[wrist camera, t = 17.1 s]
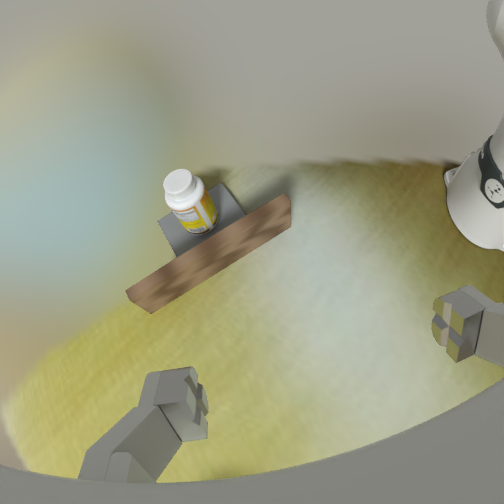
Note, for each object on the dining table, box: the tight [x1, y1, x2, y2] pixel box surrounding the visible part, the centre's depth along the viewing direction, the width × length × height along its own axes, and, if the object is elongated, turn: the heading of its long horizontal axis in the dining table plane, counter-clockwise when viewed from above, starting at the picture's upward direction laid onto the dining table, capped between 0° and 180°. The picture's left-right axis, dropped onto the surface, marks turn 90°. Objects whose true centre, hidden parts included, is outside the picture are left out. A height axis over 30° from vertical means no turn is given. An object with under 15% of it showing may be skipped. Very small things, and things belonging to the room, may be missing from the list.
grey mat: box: [158, 183, 246, 257], centre depth 48 cm, size 12×9×1 cm
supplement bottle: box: [163, 169, 218, 235], centre depth 43 cm, size 6×6×10 cm
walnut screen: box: [126, 193, 291, 314], centre depth 42 cm, size 24×2×7 cm, turn 123°
